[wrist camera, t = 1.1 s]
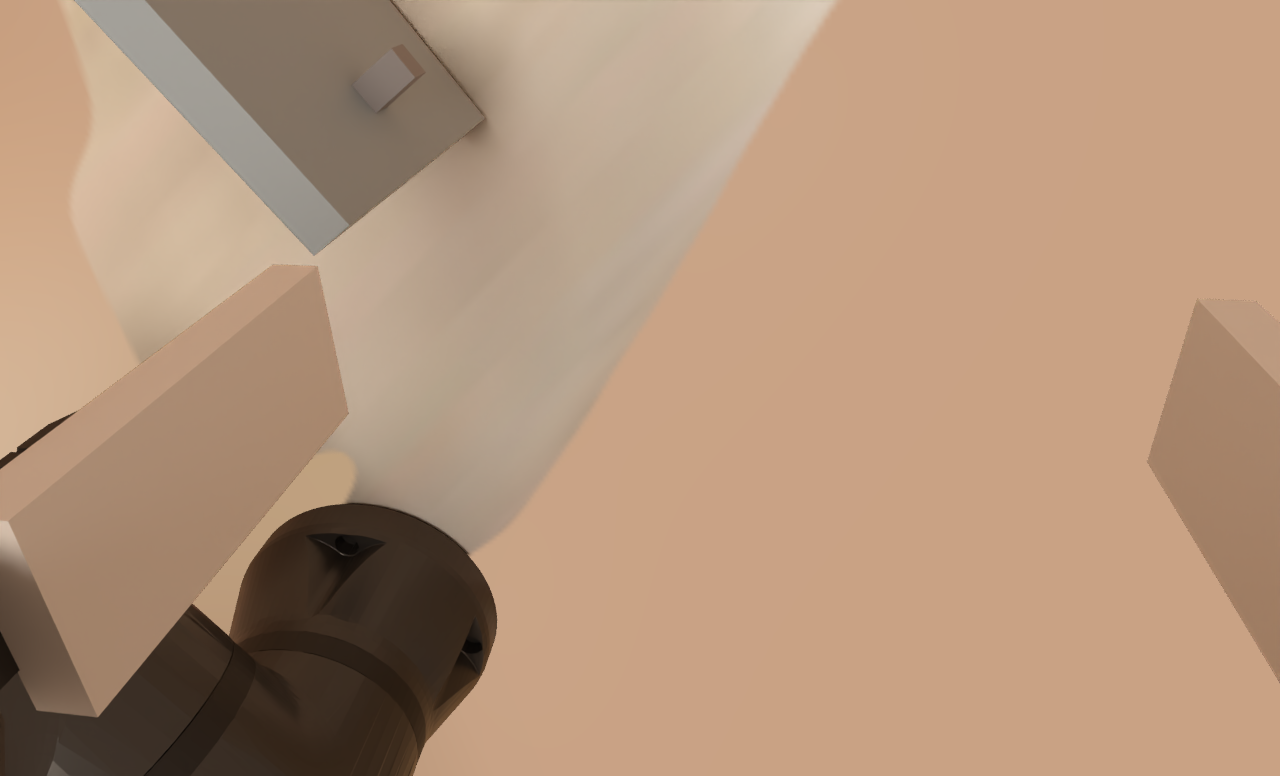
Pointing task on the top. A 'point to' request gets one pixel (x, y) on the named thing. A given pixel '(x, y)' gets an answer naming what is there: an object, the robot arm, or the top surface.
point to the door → (299, 96)
